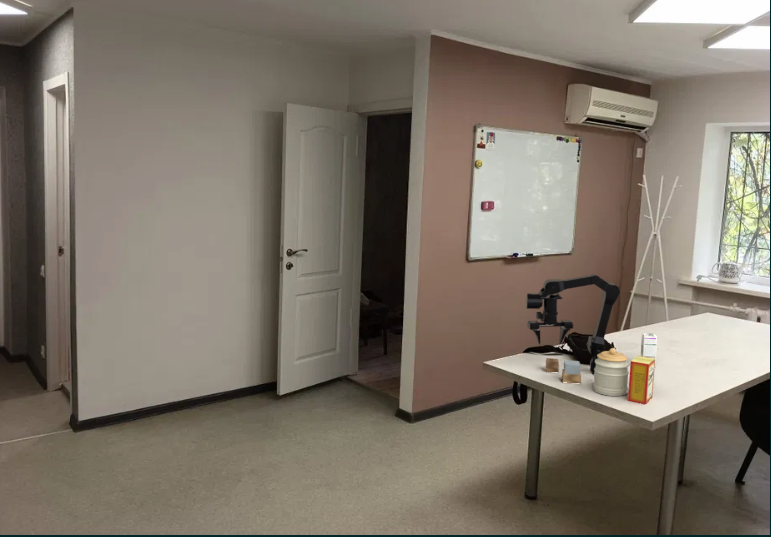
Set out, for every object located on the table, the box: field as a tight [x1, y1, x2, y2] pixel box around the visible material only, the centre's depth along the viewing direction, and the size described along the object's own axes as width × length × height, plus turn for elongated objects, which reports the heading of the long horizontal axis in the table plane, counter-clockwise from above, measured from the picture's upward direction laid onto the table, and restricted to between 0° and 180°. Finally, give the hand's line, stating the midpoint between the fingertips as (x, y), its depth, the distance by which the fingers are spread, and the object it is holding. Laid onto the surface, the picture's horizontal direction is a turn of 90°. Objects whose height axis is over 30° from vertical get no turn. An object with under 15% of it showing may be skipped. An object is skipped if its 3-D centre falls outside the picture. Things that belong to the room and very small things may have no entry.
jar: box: [592, 347, 630, 397], centre depth 251 cm, size 13×13×18 cm
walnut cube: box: [545, 357, 560, 373], centre depth 277 cm, size 5×5×5 cm
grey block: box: [563, 359, 581, 375], centre depth 264 cm, size 6×6×4 cm
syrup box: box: [640, 332, 658, 368], centre depth 285 cm, size 6×6×14 cm
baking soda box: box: [627, 355, 656, 405], centre depth 243 cm, size 10×6×16 cm
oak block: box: [561, 368, 582, 384], centre depth 264 cm, size 7×7×4 cm
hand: (549, 343), depth 277 cm, fingers open, 9 cm apart
